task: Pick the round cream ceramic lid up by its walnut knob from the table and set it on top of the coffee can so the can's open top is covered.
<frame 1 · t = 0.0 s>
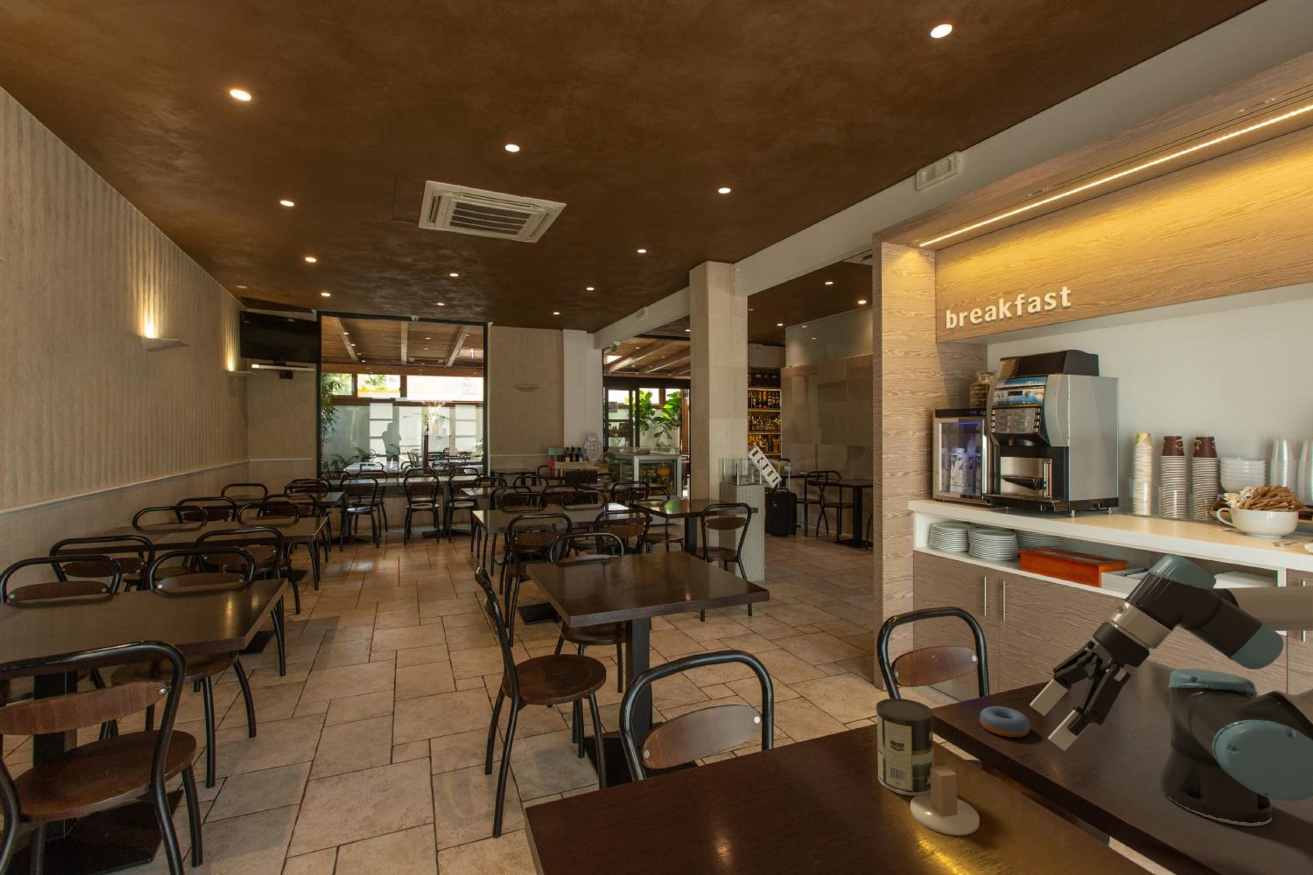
hand: (1045, 726, 109), 15 cm above the table, tool tilted 35°, fingers open, 13 cm apart
doughnut: (1004, 730, 141), on the table
lid: (944, 816, 109), on the table
coffee can: (905, 782, 120), on the table
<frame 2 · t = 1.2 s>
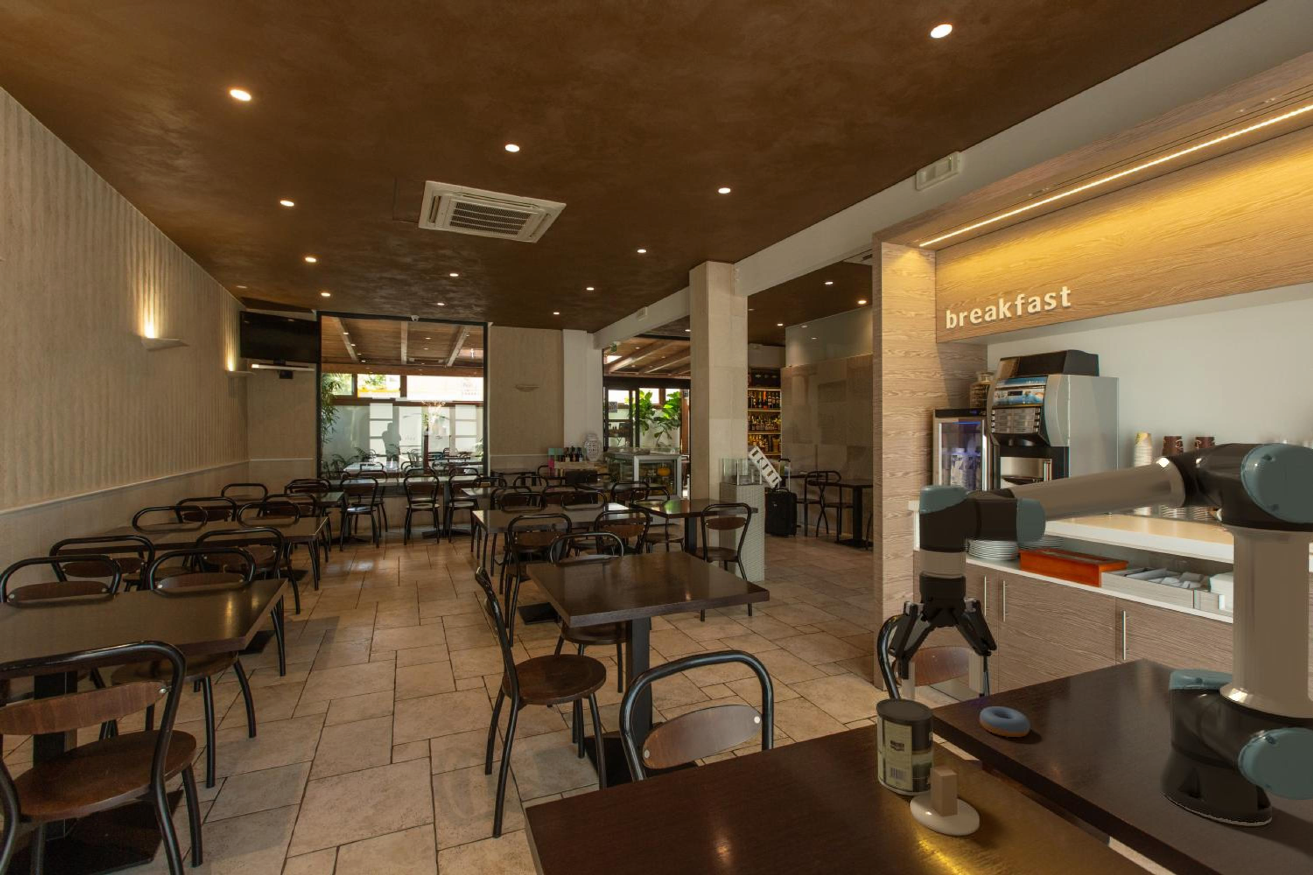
hand: (942, 693, 110), 21 cm above the table, tool pointing down, fingers open, 13 cm apart
nothing on the table moved.
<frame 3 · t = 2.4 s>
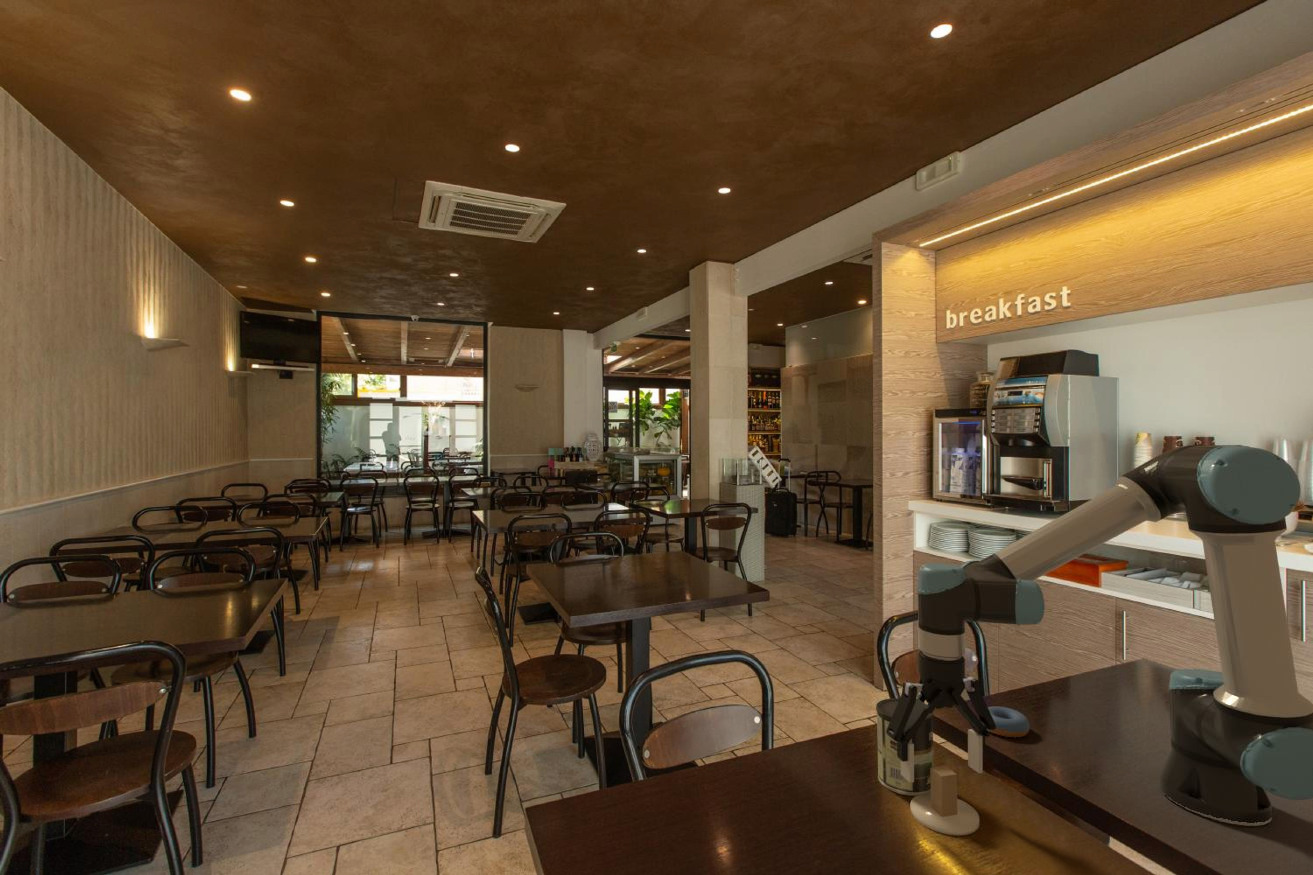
hand: (941, 773, 109), 7 cm above the table, tool pointing down, fingers open, 13 cm apart
nothing on the table moved.
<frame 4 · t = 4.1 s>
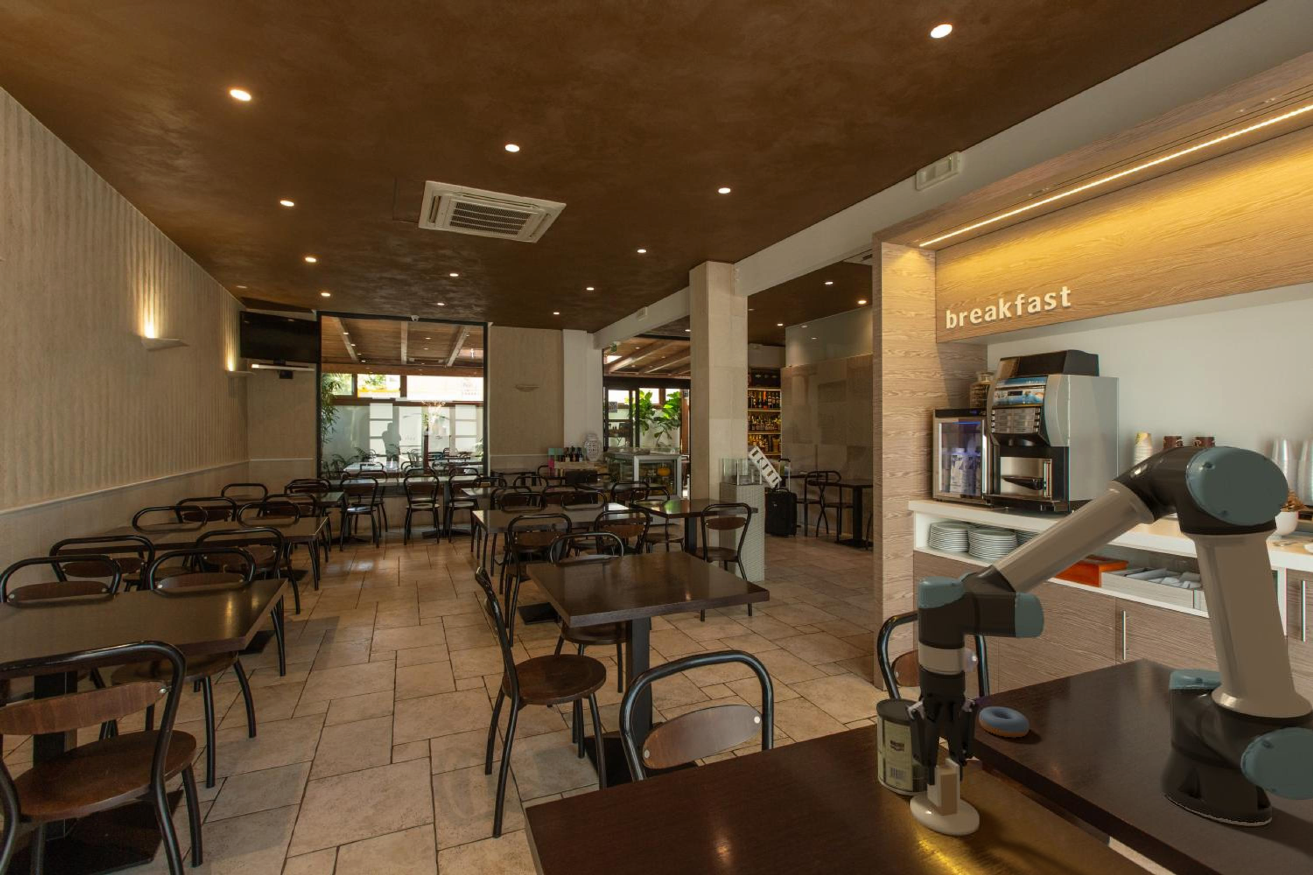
hand: (943, 799, 109), 3 cm above the table, tool pointing down, fingers closed on lid, 3 cm apart
lid: (944, 815, 109), on the table, touching gripper
everything else where it was.
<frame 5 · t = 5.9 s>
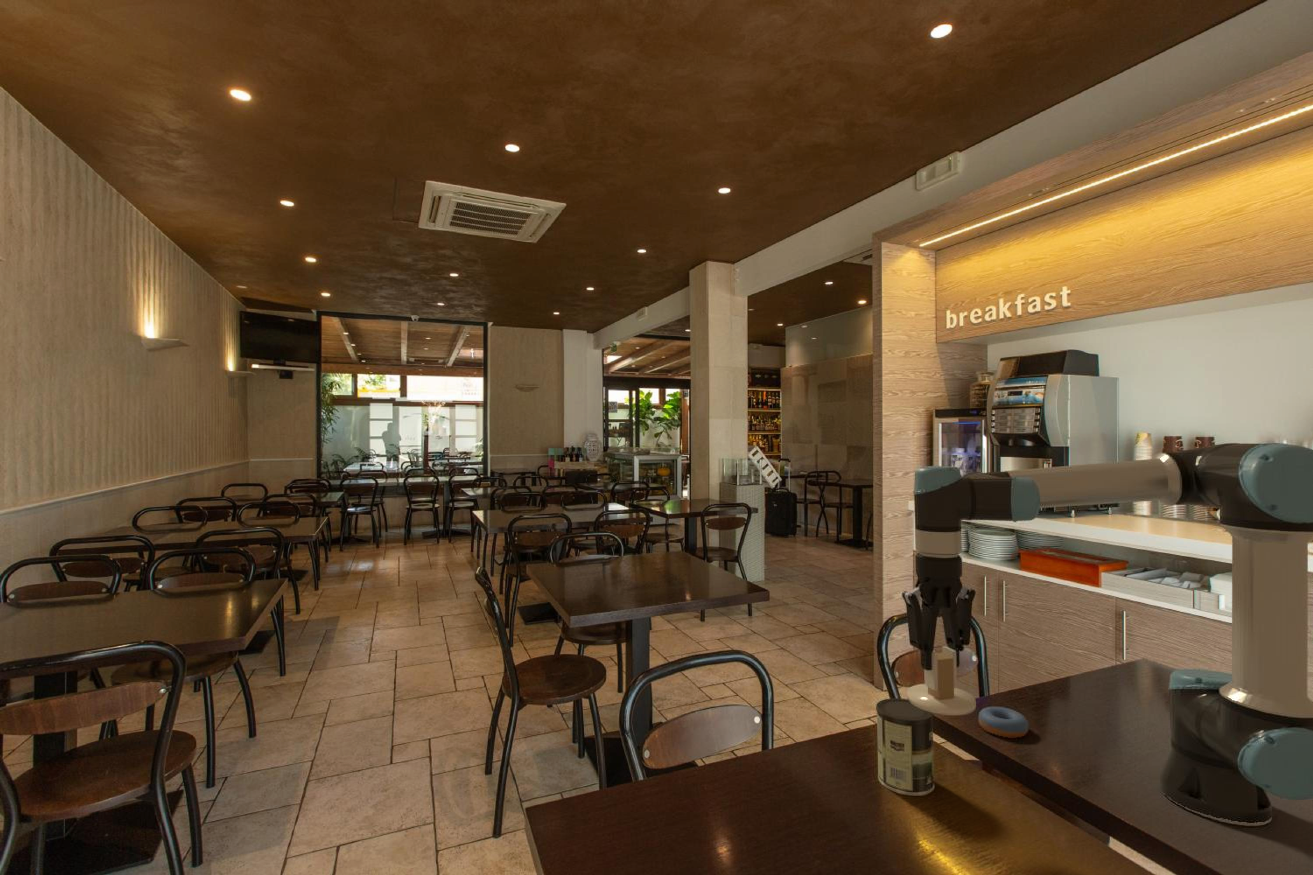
hand: (940, 686, 110), 23 cm above the table, tool pointing down, fingers closed on lid, 3 cm apart
lid: (940, 701, 110), point 20 cm above the table, touching gripper
everything else where it was.
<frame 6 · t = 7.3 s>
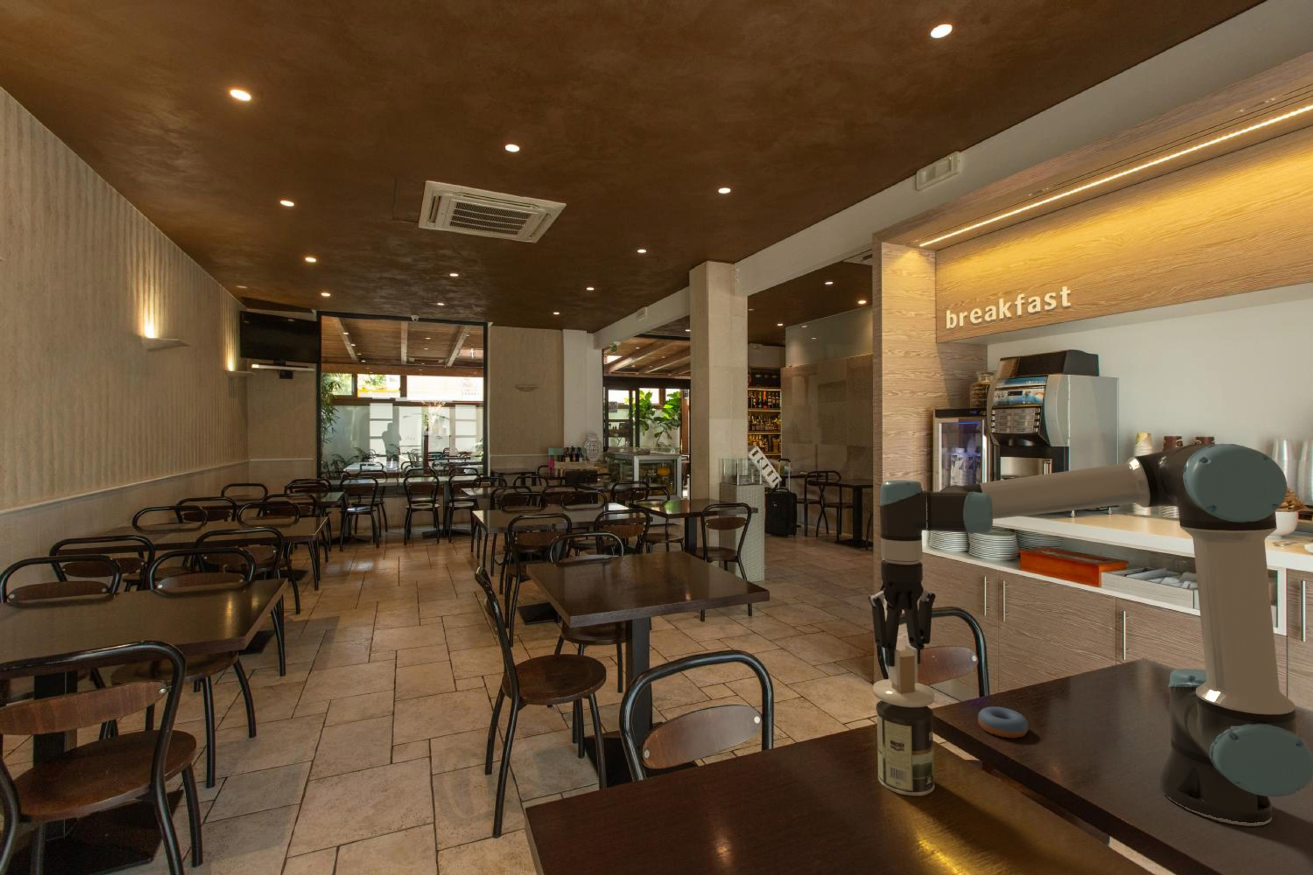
hand: (903, 681, 120), 19 cm above the table, tool pointing down, fingers closed on lid, 3 cm apart
lid: (903, 694, 120), point 17 cm above the table, touching gripper
everything else where it was.
when the fingers open (18 cm above the table, at t = 8.1 s): lid drops 1 cm, resting on coffee can.
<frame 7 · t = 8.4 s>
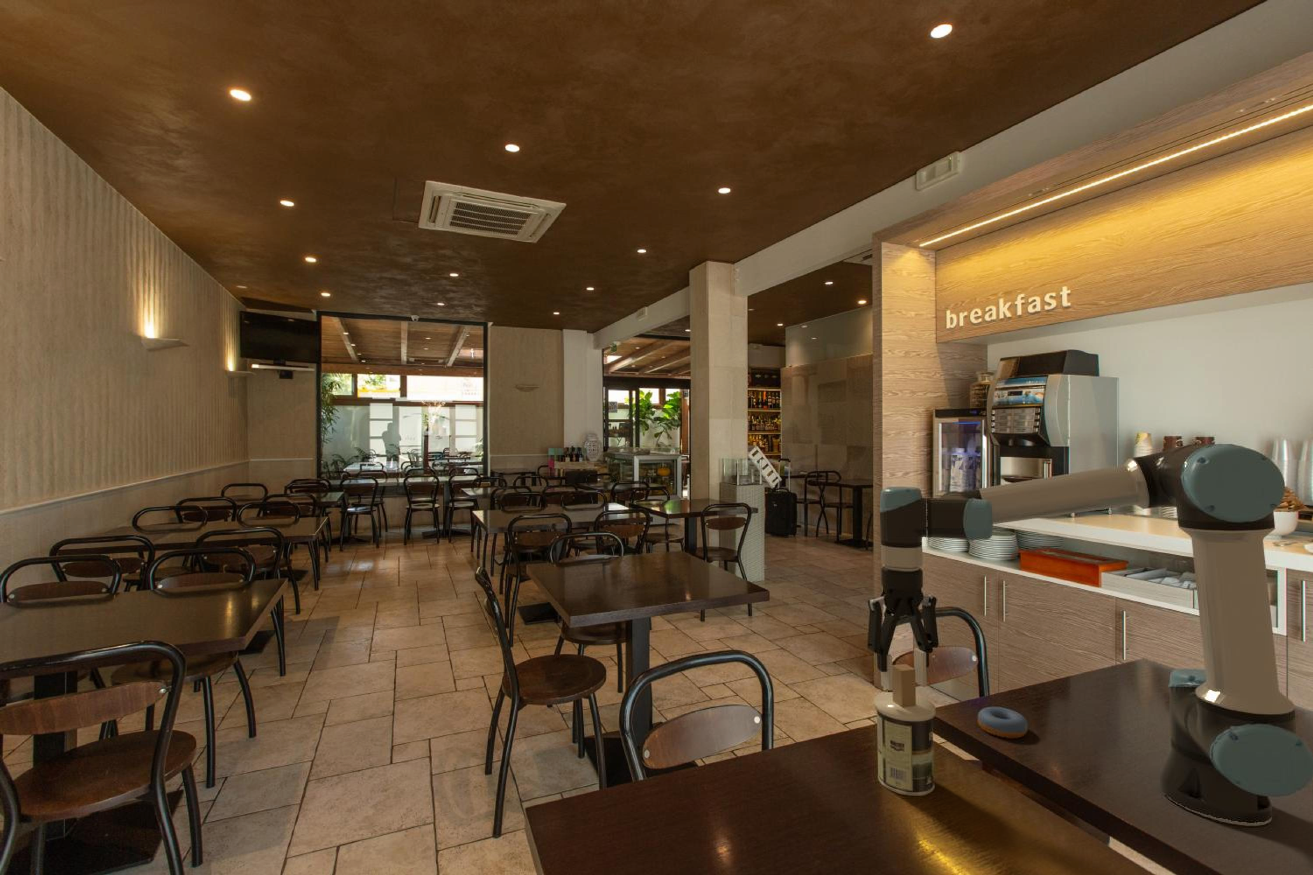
hand: (903, 685, 120), 18 cm above the table, tool pointing down, fingers open, 7 cm apart
lid: (904, 708, 120), point 14 cm above the table, touching coffee can
coffee can: (905, 782, 120), on the table, touching lid
everything else where it was.
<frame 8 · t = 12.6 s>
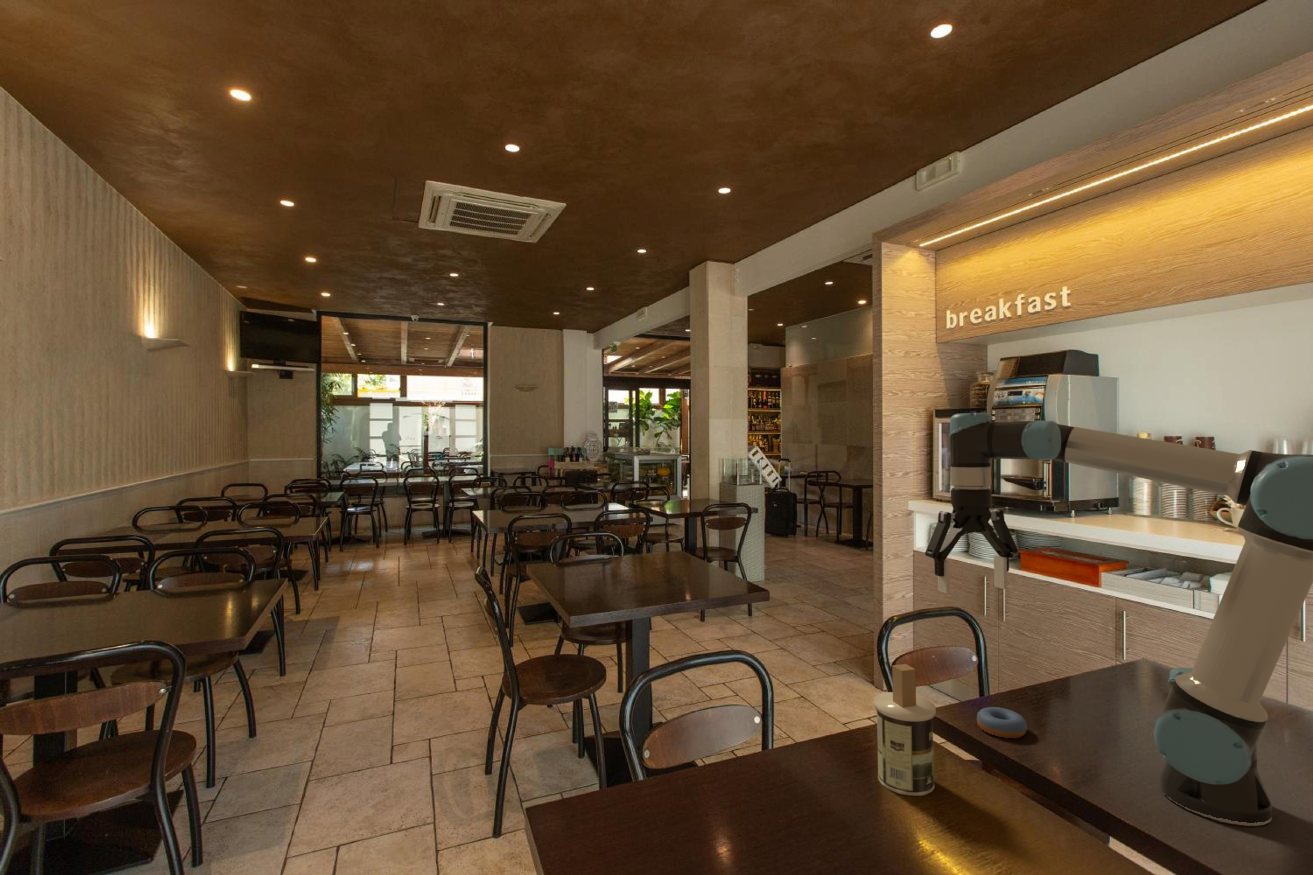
hand: (972, 589, 129), 35 cm above the table, tool pointing down, fingers open, 13 cm apart
at the end: lid 0.1 cm off-centre on the coffee can, point 14.3 cm above the coffee can's base; the gripper is holding nothing; coffee can tilted 0° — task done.
